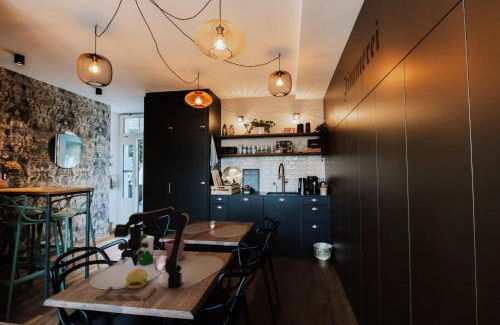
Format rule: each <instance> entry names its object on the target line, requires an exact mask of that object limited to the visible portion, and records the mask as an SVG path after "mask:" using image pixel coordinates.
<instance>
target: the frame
mask: <svg viewBox="0 0 500 325" xmlns="http://www.w3.org/2000/svg"><path fill="white" fill-rule="evenodd" d="M113 290H114V286H109V287H108V288H105V289H104V290H103V291H102V292H100V293H99V294H98V295H96V296H95V300H98V301H99V300H101V301H136V302H140V301H144V302H146V301H147V300H149V298H150V297H151V296H152V295H153V294H154V293H155V292H156V291H157V287H152V288H151V289H150V290H149V291H148V292H147V293H145V295H144V296H143V297H142V294H133V293H132V294H131V293H129V294H128V293H127V294H126V293H110V292H112V291H113Z"/></svg>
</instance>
